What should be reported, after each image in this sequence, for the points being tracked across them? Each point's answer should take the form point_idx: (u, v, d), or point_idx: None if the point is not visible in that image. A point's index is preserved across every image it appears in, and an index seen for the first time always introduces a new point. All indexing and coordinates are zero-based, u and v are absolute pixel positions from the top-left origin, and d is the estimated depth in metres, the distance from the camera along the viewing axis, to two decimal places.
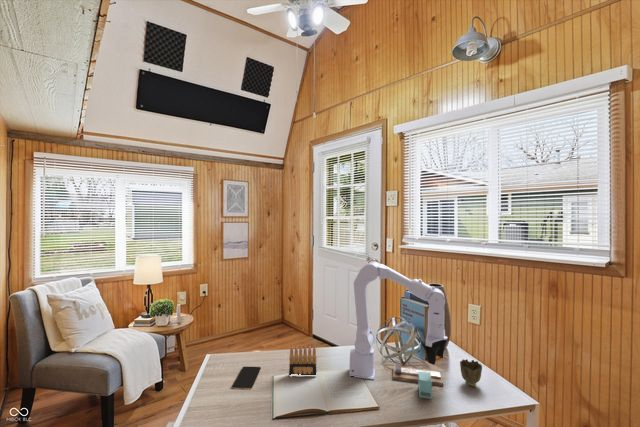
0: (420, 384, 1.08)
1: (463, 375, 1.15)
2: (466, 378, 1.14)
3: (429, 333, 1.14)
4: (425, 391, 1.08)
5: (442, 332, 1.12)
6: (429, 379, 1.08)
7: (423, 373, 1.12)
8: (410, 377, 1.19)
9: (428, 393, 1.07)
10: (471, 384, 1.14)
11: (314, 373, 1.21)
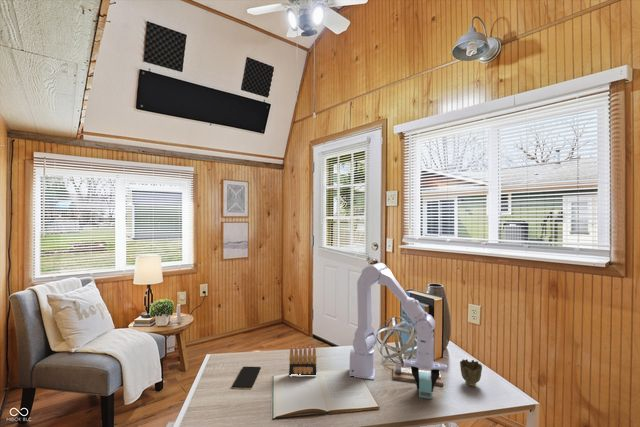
0: (420, 384, 1.08)
1: (463, 375, 1.15)
2: (466, 378, 1.14)
3: None
4: (425, 391, 1.08)
5: (422, 361, 1.08)
6: (429, 379, 1.08)
7: (423, 373, 1.12)
8: (410, 377, 1.19)
9: (428, 393, 1.07)
10: (471, 384, 1.14)
11: (314, 373, 1.21)
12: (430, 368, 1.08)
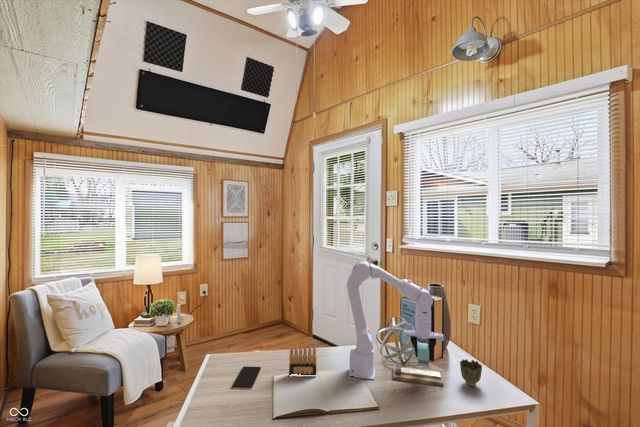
0: (418, 353, 1.17)
1: (463, 375, 1.15)
2: (466, 378, 1.14)
3: None
4: (423, 359, 1.17)
5: (420, 330, 1.18)
6: (427, 349, 1.17)
7: (421, 344, 1.21)
8: (410, 377, 1.19)
9: (426, 361, 1.16)
10: (471, 384, 1.14)
11: (314, 373, 1.21)
12: (428, 337, 1.17)
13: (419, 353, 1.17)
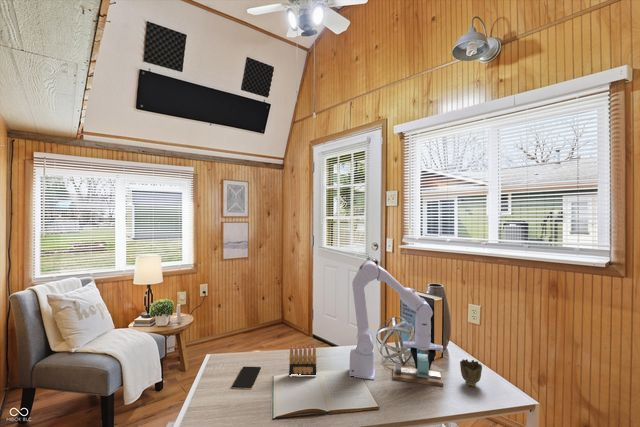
0: (418, 365, 1.18)
1: (463, 375, 1.15)
2: (466, 378, 1.14)
3: None
4: (423, 371, 1.18)
5: (420, 342, 1.19)
6: (427, 360, 1.18)
7: (421, 355, 1.22)
8: (410, 377, 1.19)
9: (426, 372, 1.17)
10: (471, 384, 1.14)
11: (314, 373, 1.21)
12: (427, 348, 1.18)
13: (419, 365, 1.18)
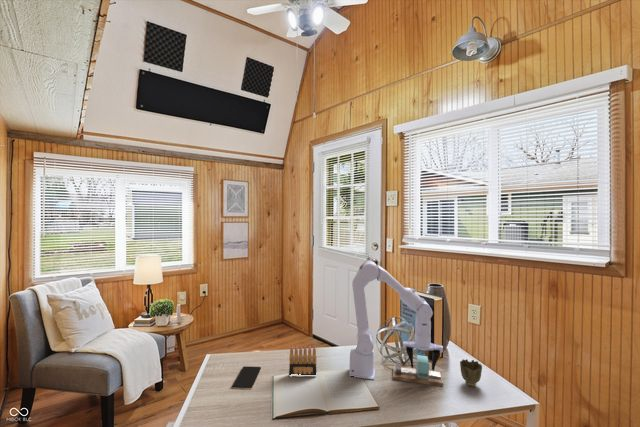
0: (418, 366, 1.18)
1: (463, 375, 1.15)
2: (466, 378, 1.14)
3: None
4: (423, 372, 1.18)
5: (420, 342, 1.19)
6: (427, 361, 1.19)
7: (421, 357, 1.23)
8: (410, 377, 1.19)
9: (426, 374, 1.18)
10: (471, 384, 1.14)
11: (314, 373, 1.21)
12: (427, 348, 1.18)
13: (419, 366, 1.18)
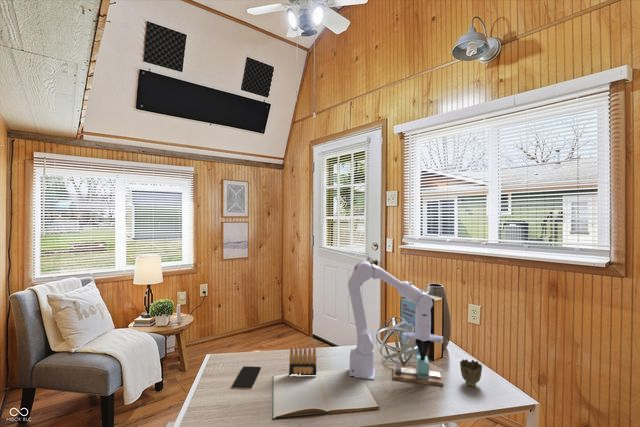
0: (418, 366, 1.18)
1: (463, 375, 1.15)
2: (466, 378, 1.14)
3: None
4: (423, 372, 1.18)
5: (420, 333, 1.19)
6: (427, 361, 1.19)
7: None
8: (410, 377, 1.19)
9: (426, 374, 1.18)
10: (471, 384, 1.14)
11: (314, 373, 1.21)
12: (427, 339, 1.18)
13: (419, 366, 1.18)
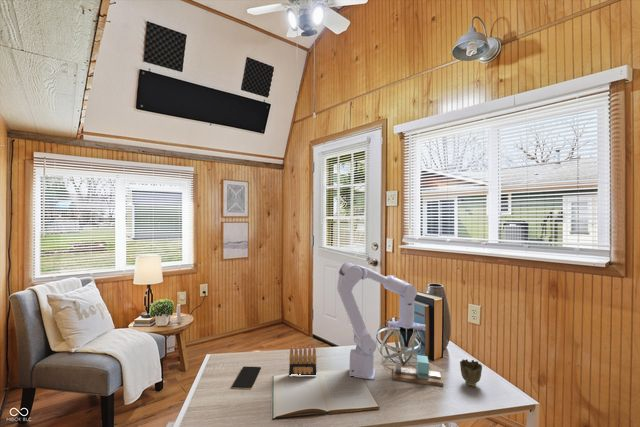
0: (418, 366, 1.18)
1: (463, 375, 1.15)
2: (466, 378, 1.14)
3: None
4: (423, 372, 1.18)
5: (403, 321, 1.25)
6: (427, 361, 1.19)
7: (421, 357, 1.23)
8: (410, 377, 1.19)
9: (426, 374, 1.18)
10: (471, 384, 1.14)
11: (314, 373, 1.21)
12: (410, 327, 1.25)
13: (419, 366, 1.18)
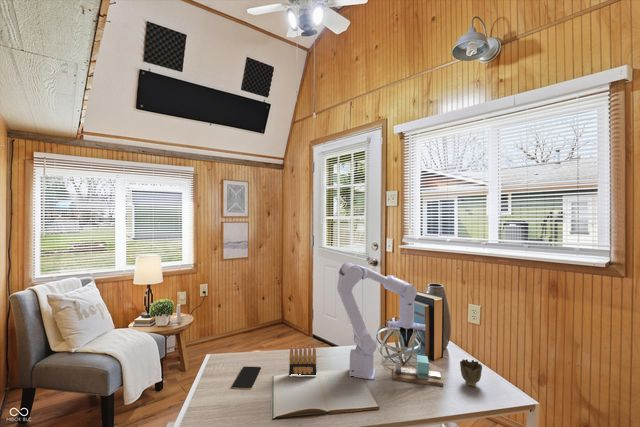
0: (418, 366, 1.18)
1: (463, 375, 1.15)
2: (466, 378, 1.14)
3: None
4: (423, 372, 1.18)
5: (403, 321, 1.25)
6: (427, 361, 1.19)
7: (421, 357, 1.23)
8: (410, 377, 1.19)
9: (426, 374, 1.18)
10: (471, 384, 1.14)
11: (314, 373, 1.21)
12: (410, 327, 1.25)
13: (419, 366, 1.18)
